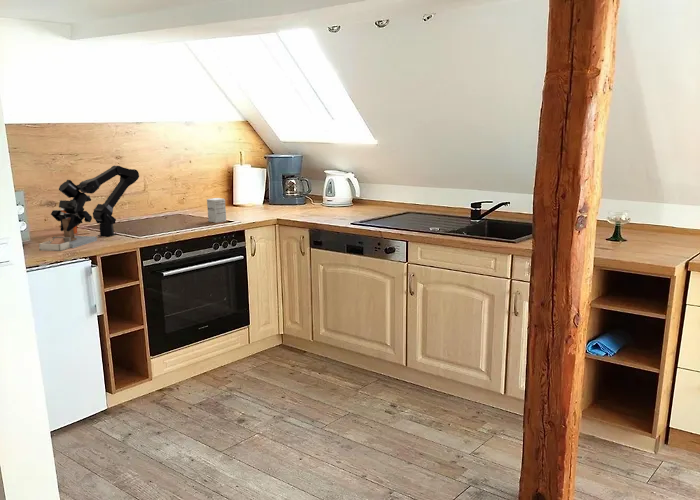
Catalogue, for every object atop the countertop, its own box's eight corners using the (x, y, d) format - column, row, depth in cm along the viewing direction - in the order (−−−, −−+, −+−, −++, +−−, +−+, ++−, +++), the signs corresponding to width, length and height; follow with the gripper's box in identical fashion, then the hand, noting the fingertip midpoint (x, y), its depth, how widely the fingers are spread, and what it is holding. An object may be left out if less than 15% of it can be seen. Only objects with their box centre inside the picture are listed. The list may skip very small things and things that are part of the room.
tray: (49, 247, 284) (49, 240, 284) (70, 248, 281) (69, 241, 281) (39, 250, 278) (38, 243, 277) (60, 251, 275) (59, 244, 275)
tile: (57, 241, 284) (55, 237, 283) (64, 241, 283) (63, 238, 282) (52, 246, 281) (50, 243, 280) (59, 247, 280) (57, 243, 279)
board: (72, 239, 301) (71, 235, 300) (97, 240, 297) (96, 236, 296) (47, 247, 285) (46, 242, 284) (72, 248, 281) (72, 243, 280)
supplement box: (207, 221, 342) (206, 199, 340) (219, 219, 348) (217, 197, 345) (215, 223, 337) (214, 200, 335) (226, 221, 343) (225, 198, 340)
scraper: (64, 239, 292) (61, 218, 289) (80, 239, 289) (77, 218, 287) (53, 242, 285) (50, 221, 282) (69, 243, 282) (66, 221, 280)
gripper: (50, 193, 289) (36, 220, 281) (84, 193, 284) (71, 221, 276) (64, 207, 298) (51, 234, 290) (97, 207, 293) (85, 235, 285)
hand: (64, 230), depth 285 cm, fingers closed on scraper, 3 cm apart
